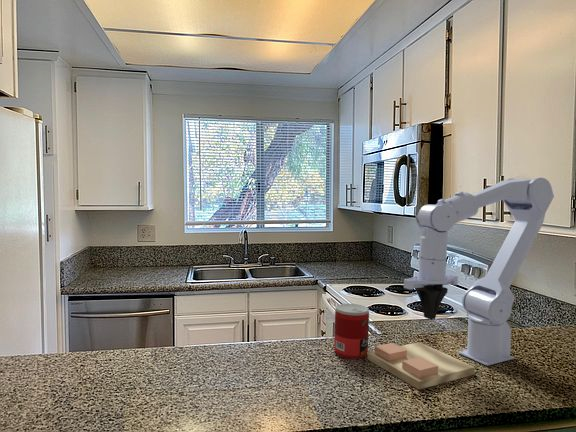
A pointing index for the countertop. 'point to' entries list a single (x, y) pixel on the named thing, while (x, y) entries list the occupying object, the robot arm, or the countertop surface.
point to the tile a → (390, 351)
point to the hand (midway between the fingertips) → (429, 318)
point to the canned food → (351, 331)
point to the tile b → (420, 367)
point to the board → (446, 364)
